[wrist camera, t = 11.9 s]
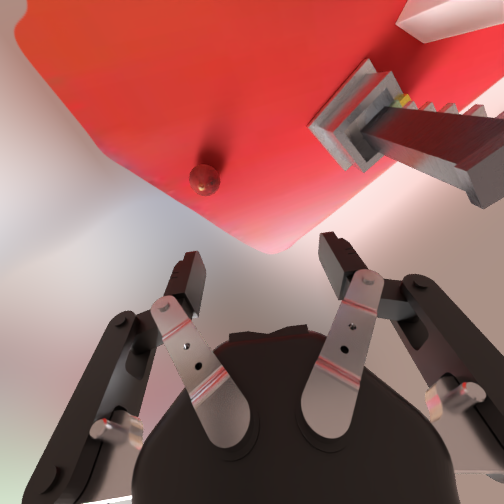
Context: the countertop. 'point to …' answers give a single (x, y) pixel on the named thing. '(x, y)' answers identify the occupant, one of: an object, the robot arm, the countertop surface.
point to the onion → (204, 180)
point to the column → (444, 145)
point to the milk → (448, 17)
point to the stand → (355, 115)
